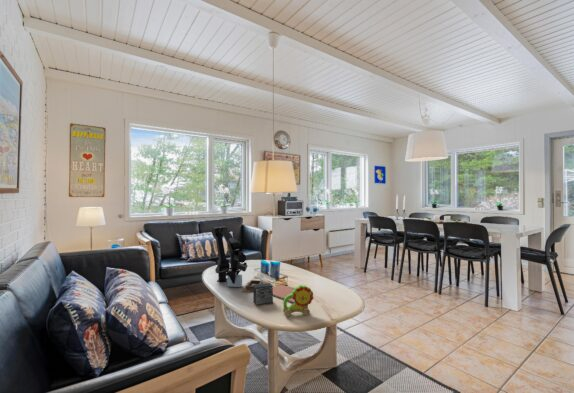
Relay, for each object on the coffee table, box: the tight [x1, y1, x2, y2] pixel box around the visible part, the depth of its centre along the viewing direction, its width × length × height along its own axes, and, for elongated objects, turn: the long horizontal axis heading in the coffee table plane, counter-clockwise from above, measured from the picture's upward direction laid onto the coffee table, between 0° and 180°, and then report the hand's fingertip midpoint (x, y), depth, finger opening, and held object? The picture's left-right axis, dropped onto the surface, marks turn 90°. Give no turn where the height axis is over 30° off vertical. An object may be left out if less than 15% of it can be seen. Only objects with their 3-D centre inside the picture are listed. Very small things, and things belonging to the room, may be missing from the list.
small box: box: [252, 282, 274, 306], centre depth 169 cm, size 11×6×10 cm, turn 109°
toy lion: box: [283, 284, 314, 318], centre depth 153 cm, size 16×5×15 cm, turn 99°
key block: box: [226, 274, 243, 288], centre depth 198 cm, size 4×9×7 cm, turn 83°
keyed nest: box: [241, 279, 268, 293], centre depth 195 cm, size 18×13×3 cm
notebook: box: [273, 284, 295, 304], centre depth 182 cm, size 27×17×2 cm, turn 44°
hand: (234, 282), depth 198 cm, fingers closed on key block, 4 cm apart
